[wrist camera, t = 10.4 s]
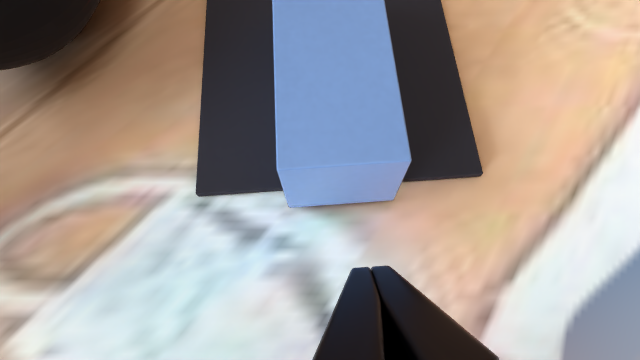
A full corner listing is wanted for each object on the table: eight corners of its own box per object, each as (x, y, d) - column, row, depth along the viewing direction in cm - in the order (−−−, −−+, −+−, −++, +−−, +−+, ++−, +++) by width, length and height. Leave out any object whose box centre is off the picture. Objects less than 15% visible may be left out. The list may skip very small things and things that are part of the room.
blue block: (412, 160, 14) (373, -64, 19) (276, 170, 14) (270, -57, 19) (393, 200, 18) (366, 8, 23) (288, 208, 18) (281, 15, 23)
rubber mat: (480, 176, 19) (483, 173, 19) (197, 196, 19) (195, 194, 19) (425, -51, 25) (427, -56, 25) (210, -35, 25) (209, -41, 25)
